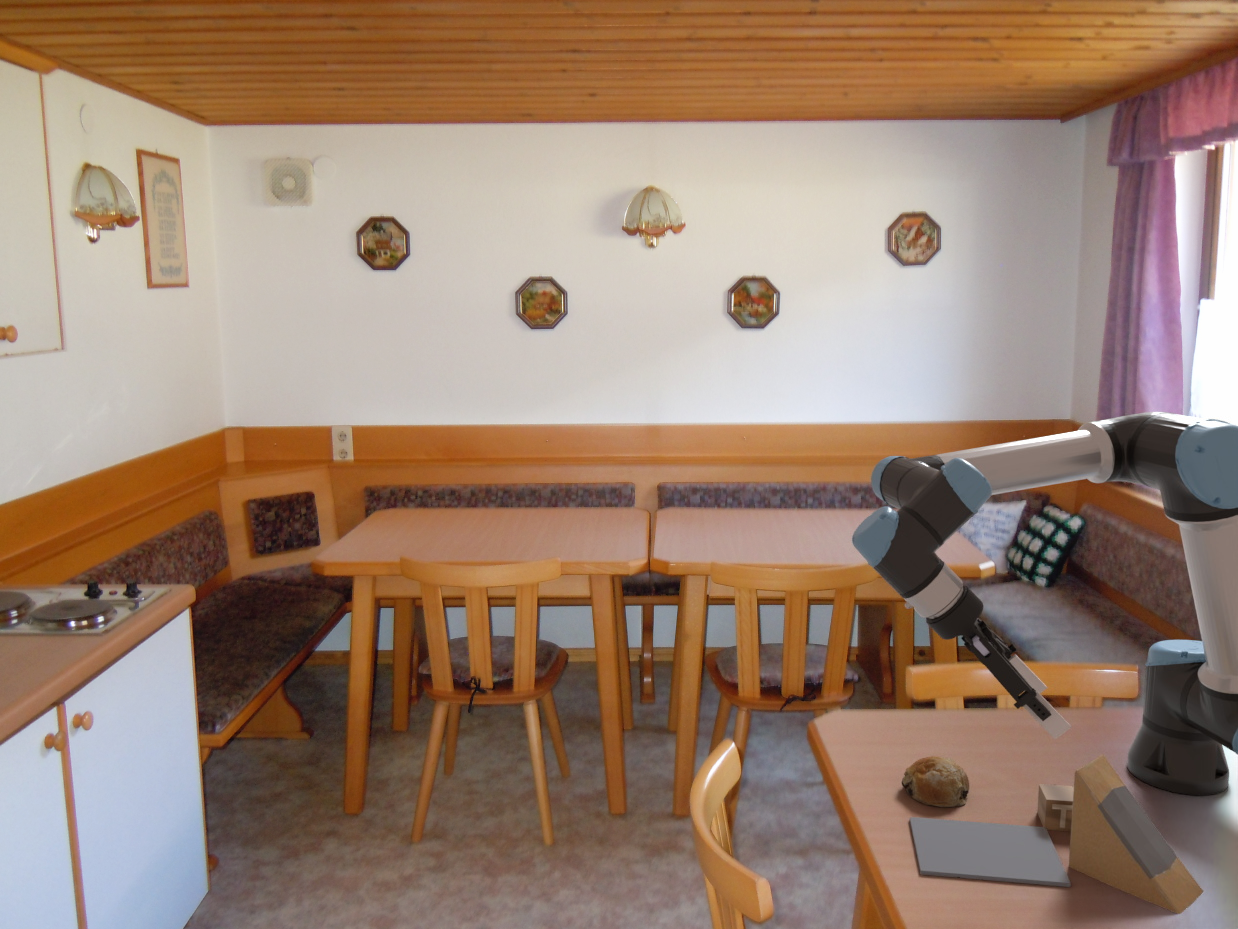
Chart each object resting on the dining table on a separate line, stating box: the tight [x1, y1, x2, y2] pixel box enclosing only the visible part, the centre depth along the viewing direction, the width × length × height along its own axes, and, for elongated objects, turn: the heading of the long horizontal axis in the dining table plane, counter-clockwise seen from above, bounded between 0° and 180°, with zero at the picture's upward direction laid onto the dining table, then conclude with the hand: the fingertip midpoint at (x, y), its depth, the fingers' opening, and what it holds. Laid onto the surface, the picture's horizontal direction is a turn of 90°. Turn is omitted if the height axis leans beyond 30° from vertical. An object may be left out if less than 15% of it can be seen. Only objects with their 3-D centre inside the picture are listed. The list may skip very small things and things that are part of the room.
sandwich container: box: [1068, 753, 1204, 915], centre depth 143 cm, size 9×15×15 cm, turn 40°
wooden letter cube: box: [1036, 783, 1074, 832], centre depth 159 cm, size 5×5×5 cm
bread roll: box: [901, 755, 970, 808], centre depth 168 cm, size 10×10×8 cm
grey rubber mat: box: [909, 816, 1072, 888], centre depth 151 cm, size 20×15×1 cm
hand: (1050, 711), depth 143 cm, fingers open, 13 cm apart
